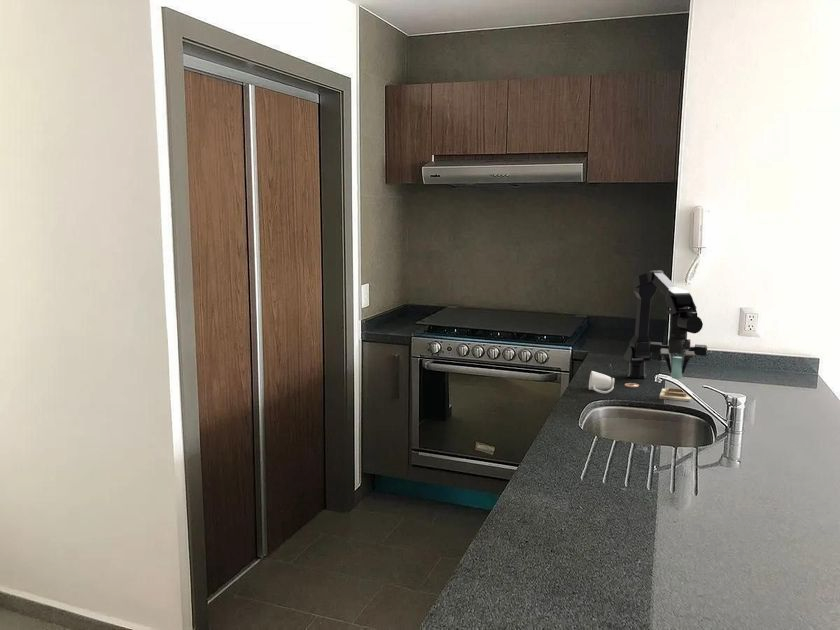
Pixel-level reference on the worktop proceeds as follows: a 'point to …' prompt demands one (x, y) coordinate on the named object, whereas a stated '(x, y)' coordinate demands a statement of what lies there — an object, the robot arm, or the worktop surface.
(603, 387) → the cup
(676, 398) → the board
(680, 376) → the peg
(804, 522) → the worktop surface
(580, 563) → the worktop surface
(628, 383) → the peach flat disc
